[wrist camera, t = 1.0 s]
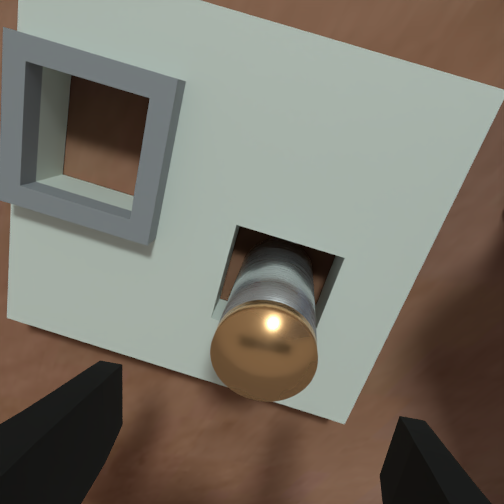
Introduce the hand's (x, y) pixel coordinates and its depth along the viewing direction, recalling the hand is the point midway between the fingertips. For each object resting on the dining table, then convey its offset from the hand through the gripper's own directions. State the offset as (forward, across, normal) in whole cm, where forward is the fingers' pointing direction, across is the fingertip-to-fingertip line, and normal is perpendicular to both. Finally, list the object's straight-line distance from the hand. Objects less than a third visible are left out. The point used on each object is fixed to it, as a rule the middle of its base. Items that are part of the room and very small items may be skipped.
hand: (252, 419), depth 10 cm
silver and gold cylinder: (+10, 0, 0) cm, 10 cm away
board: (+10, +3, -2) cm, 10 cm away
